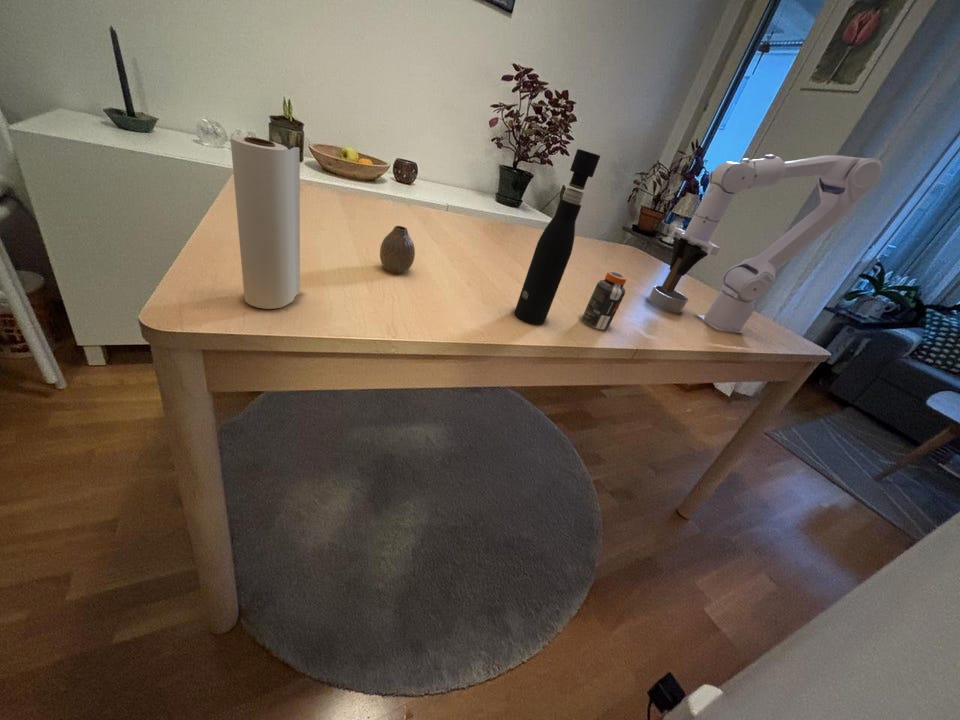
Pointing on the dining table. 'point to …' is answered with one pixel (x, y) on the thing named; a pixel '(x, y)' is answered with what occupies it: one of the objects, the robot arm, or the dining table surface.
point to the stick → (672, 277)
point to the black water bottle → (555, 246)
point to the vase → (397, 251)
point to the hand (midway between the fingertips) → (676, 272)
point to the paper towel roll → (268, 219)
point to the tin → (667, 299)
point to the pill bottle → (605, 301)
